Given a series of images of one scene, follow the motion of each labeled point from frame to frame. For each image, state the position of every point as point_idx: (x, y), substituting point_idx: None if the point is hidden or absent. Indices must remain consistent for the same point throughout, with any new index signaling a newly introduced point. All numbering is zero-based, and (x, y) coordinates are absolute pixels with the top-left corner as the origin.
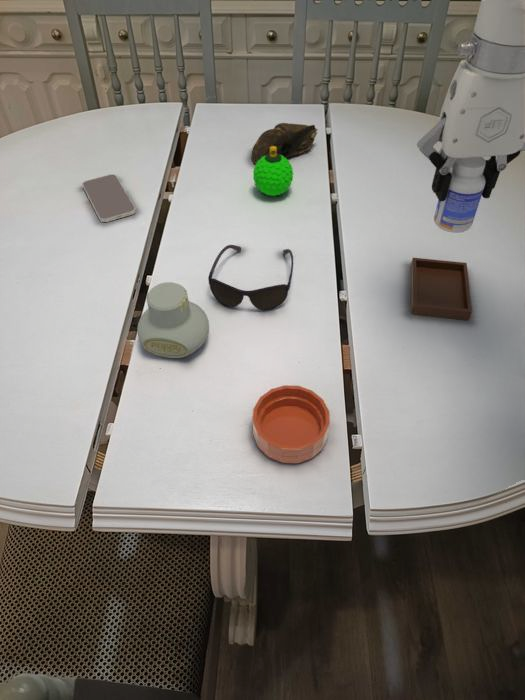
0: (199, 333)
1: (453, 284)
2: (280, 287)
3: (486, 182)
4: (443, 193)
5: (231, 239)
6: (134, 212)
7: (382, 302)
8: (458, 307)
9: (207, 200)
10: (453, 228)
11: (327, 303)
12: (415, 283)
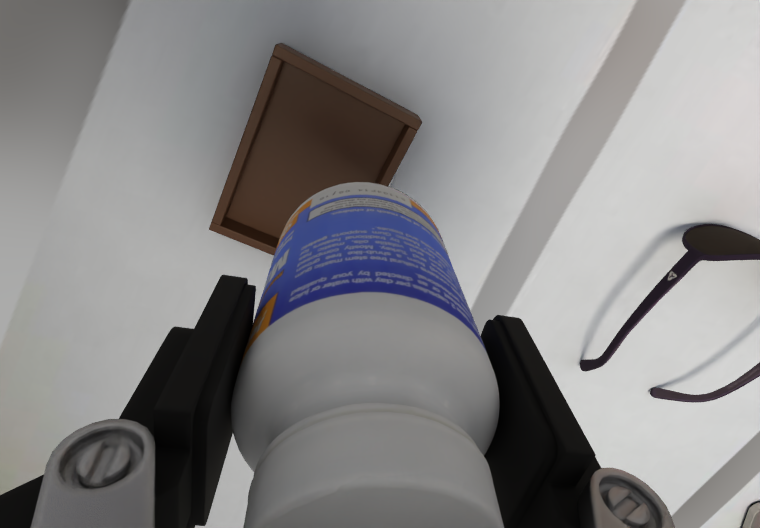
0: None
1: (266, 178)
2: (727, 253)
3: (232, 366)
4: (534, 348)
5: (645, 419)
6: (755, 505)
7: (462, 175)
8: (291, 94)
9: None
10: (407, 199)
11: (582, 208)
12: None
